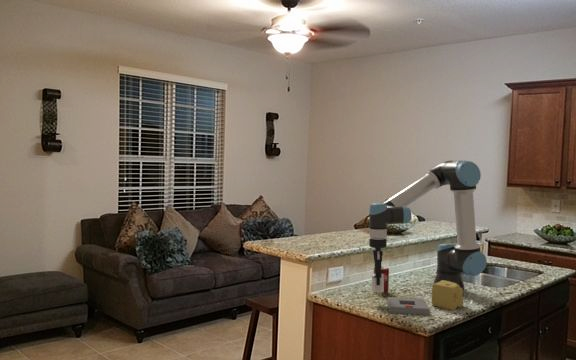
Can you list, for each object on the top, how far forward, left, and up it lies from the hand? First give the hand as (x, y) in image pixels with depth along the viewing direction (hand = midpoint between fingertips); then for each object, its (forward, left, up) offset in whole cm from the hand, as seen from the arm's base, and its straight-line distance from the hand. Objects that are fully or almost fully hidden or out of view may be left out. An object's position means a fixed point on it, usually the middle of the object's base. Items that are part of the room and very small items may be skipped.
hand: (377, 290), depth 226 cm
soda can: (-2, -22, -6) cm, 23 cm away
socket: (-12, +4, -6) cm, 15 cm away
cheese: (-30, -4, -6) cm, 31 cm away
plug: (0, 0, -2) cm, 2 cm away
